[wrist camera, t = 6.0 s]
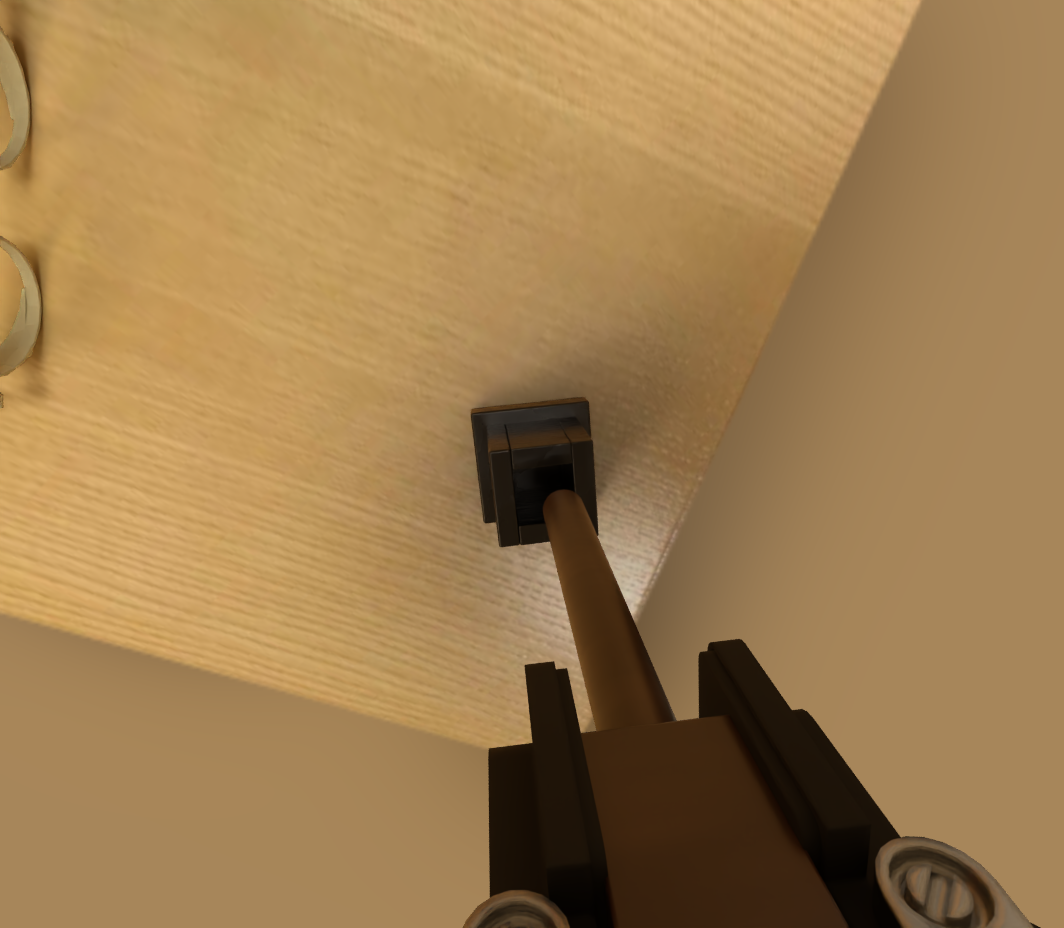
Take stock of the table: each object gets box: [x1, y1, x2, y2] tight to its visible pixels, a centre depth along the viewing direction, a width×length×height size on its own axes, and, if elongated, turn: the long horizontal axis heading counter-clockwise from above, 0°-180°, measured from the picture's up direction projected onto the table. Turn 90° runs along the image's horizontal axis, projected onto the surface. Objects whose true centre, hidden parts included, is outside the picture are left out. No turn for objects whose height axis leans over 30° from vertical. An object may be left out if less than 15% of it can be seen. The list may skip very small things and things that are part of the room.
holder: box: [471, 397, 599, 547], centre depth 25 cm, size 5×5×5 cm
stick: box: [543, 490, 849, 928], centre depth 14 cm, size 2×2×16 cm
